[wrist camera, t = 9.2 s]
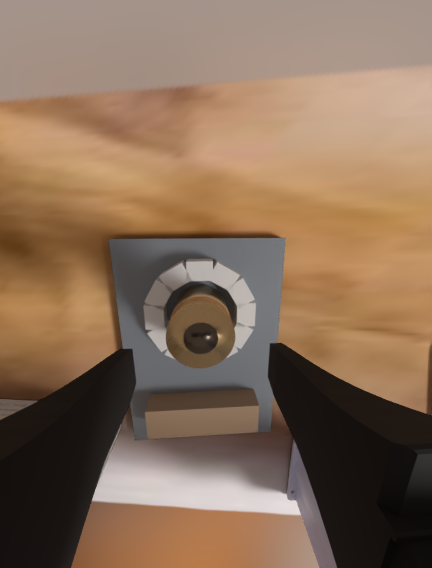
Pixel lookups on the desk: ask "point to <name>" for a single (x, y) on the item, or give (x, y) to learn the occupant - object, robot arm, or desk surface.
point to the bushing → (200, 328)
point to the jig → (156, 316)
